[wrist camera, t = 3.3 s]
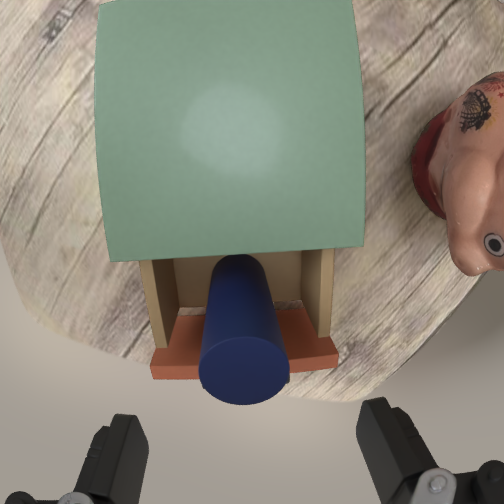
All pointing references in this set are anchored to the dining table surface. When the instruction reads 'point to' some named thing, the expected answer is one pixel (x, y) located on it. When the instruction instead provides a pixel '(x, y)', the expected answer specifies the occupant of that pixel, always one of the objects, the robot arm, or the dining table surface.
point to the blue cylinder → (241, 335)
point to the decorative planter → (467, 174)
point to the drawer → (282, 289)
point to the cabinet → (229, 127)
